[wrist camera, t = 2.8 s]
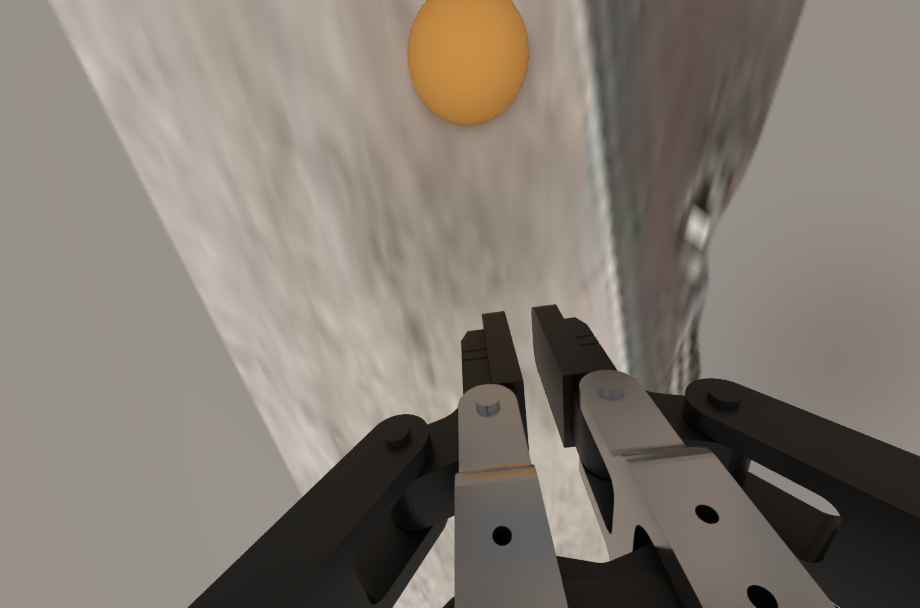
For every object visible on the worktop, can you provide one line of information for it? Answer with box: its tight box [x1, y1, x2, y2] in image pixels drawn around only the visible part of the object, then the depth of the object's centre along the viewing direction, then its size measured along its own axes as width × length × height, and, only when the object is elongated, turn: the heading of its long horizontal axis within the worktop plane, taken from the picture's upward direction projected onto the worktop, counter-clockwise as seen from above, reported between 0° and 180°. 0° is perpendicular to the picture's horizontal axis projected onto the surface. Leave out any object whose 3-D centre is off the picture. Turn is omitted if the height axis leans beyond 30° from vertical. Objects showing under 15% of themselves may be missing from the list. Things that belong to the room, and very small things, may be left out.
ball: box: [408, 0, 529, 125], centre depth 19 cm, size 6×6×6 cm
